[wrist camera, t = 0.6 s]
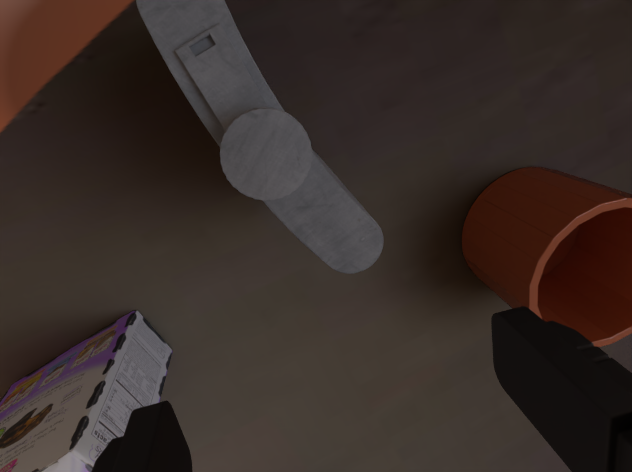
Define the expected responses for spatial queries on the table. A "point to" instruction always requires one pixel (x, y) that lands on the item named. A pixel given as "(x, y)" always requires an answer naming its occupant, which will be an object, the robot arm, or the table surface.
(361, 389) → the table surface
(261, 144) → the hip flask
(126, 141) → the table surface
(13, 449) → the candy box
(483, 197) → the flower pot
